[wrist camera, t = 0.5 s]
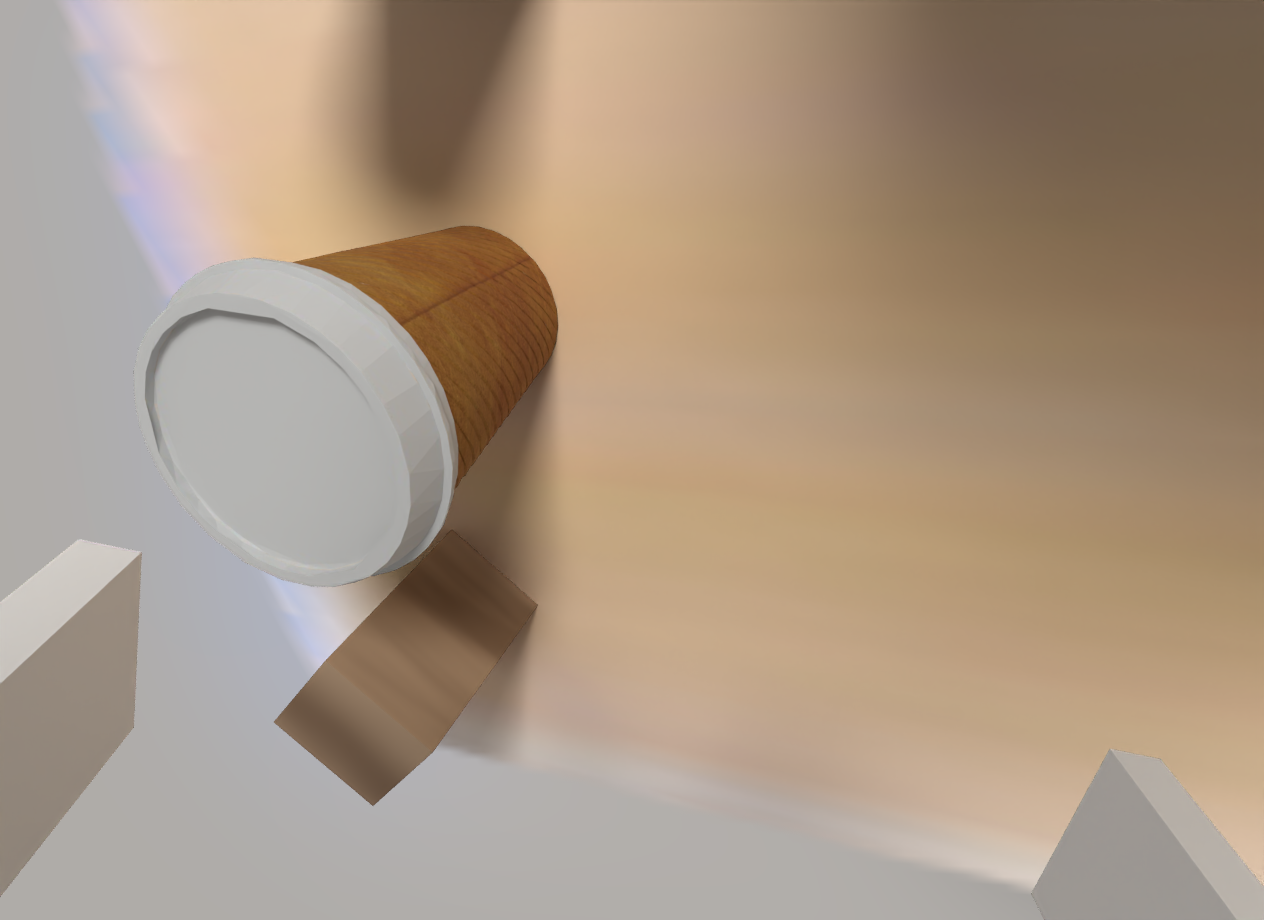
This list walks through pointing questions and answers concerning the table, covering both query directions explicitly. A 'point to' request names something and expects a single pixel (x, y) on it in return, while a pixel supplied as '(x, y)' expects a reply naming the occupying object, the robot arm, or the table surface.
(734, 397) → the table surface
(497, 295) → the disposable coffee cup
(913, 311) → the table surface
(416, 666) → the walnut block
